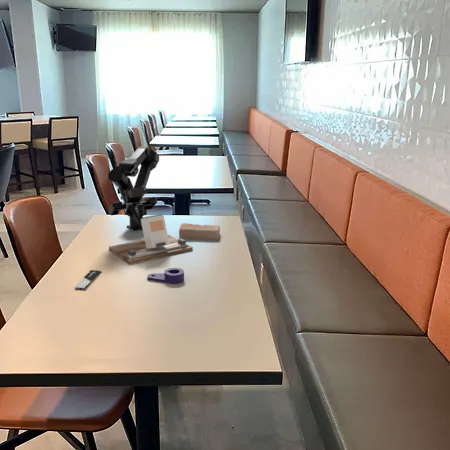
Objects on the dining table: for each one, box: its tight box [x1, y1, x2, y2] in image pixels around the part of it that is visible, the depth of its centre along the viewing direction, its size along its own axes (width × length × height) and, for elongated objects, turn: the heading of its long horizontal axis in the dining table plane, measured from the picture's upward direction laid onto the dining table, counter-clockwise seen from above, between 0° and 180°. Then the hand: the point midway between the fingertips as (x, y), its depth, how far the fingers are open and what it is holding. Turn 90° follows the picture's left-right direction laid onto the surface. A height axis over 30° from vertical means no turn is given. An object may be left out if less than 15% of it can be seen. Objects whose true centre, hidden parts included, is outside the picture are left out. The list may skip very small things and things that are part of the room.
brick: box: [178, 222, 221, 241], centre depth 195 cm, size 17×8×5 cm, turn 89°
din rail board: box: [108, 234, 194, 265], centre depth 178 cm, size 18×26×4 cm
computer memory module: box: [74, 269, 103, 291], centre depth 151 cm, size 15×1×4 cm
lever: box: [147, 267, 185, 285], centre depth 153 cm, size 12×6×3 cm, turn 84°
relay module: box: [141, 213, 169, 249], centre depth 173 cm, size 6×7×12 cm
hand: (140, 224), depth 182 cm, fingers closed
